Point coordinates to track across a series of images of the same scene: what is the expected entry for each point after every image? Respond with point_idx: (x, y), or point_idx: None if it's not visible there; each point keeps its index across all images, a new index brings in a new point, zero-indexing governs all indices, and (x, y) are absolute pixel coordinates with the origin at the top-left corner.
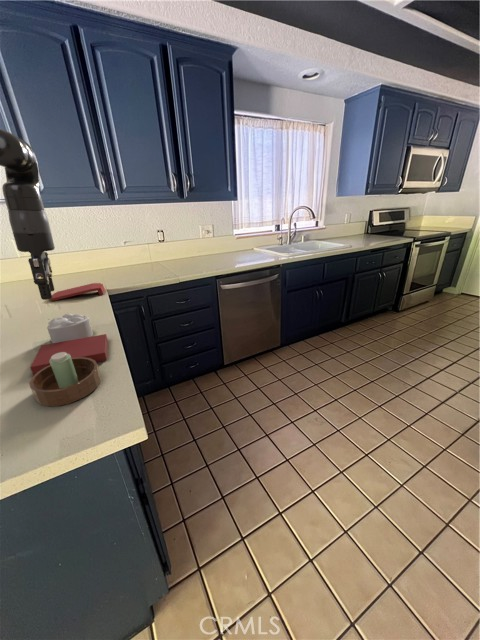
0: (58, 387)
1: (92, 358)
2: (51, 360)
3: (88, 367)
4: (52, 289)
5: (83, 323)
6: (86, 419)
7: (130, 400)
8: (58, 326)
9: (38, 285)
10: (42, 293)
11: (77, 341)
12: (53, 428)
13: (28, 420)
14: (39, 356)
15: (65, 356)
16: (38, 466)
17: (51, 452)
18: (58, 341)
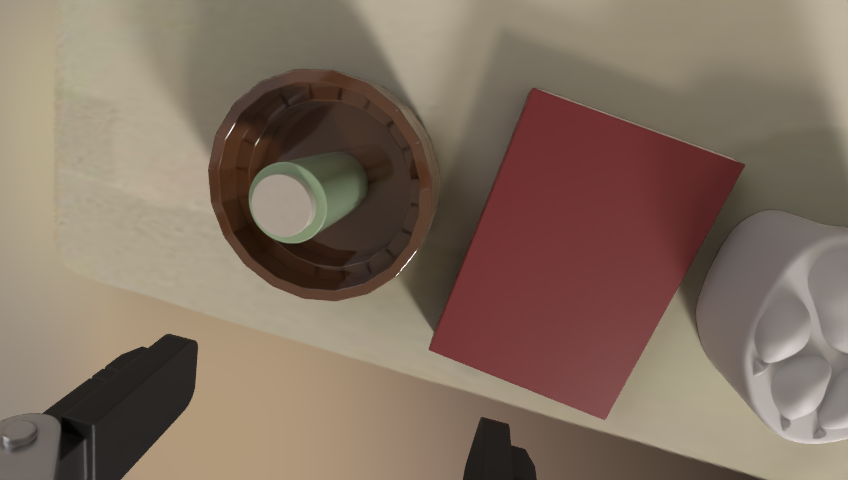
0: (356, 150)
1: (447, 300)
2: (290, 171)
3: (361, 267)
4: (467, 475)
5: (744, 395)
6: (153, 177)
7: (162, 294)
8: (797, 287)
9: (63, 420)
10: (100, 376)
11: (633, 305)
12: (168, 96)
13: (247, 41)
14: (611, 136)
15: (260, 224)
16: (56, 43)
17: (84, 76)
18: (744, 239)
